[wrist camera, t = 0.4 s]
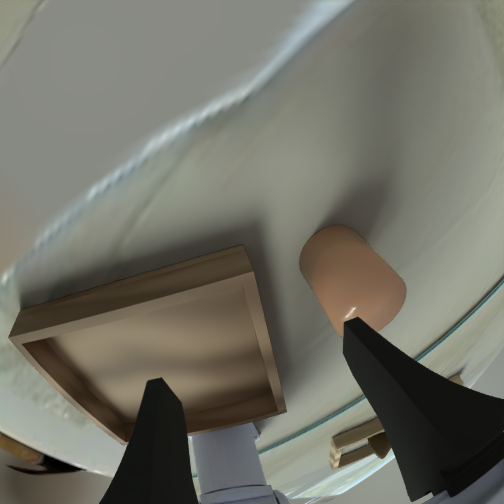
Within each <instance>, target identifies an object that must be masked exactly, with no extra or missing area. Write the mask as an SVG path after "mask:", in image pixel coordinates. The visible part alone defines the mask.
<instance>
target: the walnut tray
mask: <svg viewBox="0 0 504 504" xmlns="http://www.w3.org/2000/svg"><path fill="white" fill-rule="evenodd" d="M8 338H9V339H10V341H11V342H12V343H13V344H14V345H15V347H16V348H17V349H18V350H19V351H20V352H21V354H22V355H23V356H24V357H25V358H26V359H27V360H28V361H29V362H30V364H31V365H32V366H33V367H34V368H35V369H36V370H37V371H38V372H39V373H40V374H41V375H42V376H43V377H44V378H45V379H46V380H47V381H48V382H49V383H50V384H51V385H52V386H53V387H54V388H55V389H56V390H57V391H58V392H59V393H60V394H61V395H62V396H63V397H64V398H65V399H66V400H67V401H68V402H70V403H71V404H72V405H73V406H74V407H75V408H76V409H77V410H79V411H80V412H81V413H82V414H83V415H84V416H86V417H87V418H88V419H89V420H90V421H92V422H93V423H94V424H95V425H96V426H98V427H99V428H100V429H102V430H103V431H104V432H105V433H107V434H108V435H109V436H111V437H112V438H113V439H115V440H116V441H117V442H119V443H120V444H121V445H128V442H129V439H130V436H131V433H132V430H133V427H134V424H135V421H136V418H137V414H138V411H139V408H140V404H141V401H142V397H143V393H144V390H145V386H146V382H147V381H148V380H151V379H156V378H160V377H162V378H163V379H164V381H165V382H166V383H167V384H168V386H169V387H170V388H171V390H172V391H173V392H174V393H175V395H176V396H177V397H178V398H179V400H180V401H181V402H182V406H183V411H184V415H185V420H186V426H187V436H194V435H199V434H204V433H209V432H214V431H218V430H223V429H227V428H231V427H235V426H239V425H243V424H247V423H251V422H255V421H258V420H262V419H265V418H269V417H272V416H276V415H279V414H282V413H285V412H287V410H286V405H285V401H284V397H283V393H282V389H281V384H280V380H279V376H278V372H277V368H276V363H275V359H274V355H273V351H272V347H271V342H270V338H269V334H268V330H267V326H266V321H265V317H264V313H263V309H262V304H261V300H260V296H259V292H258V287H257V283H256V279H255V275H254V271H253V268H252V266H251V263H250V261H249V258H248V256H247V253H246V251H245V248H244V246H243V245H239V246H236V247H232V248H229V249H225V250H222V251H218V252H215V253H212V254H208V255H205V256H201V257H198V258H194V259H191V260H187V261H184V262H180V263H177V264H174V265H170V266H167V267H163V268H160V269H156V270H153V271H150V272H146V273H143V274H139V275H136V276H133V277H129V278H126V279H123V280H119V281H116V282H112V283H109V284H106V285H102V286H99V287H96V288H92V289H89V290H86V291H82V292H79V293H76V294H72V295H69V296H66V297H62V298H59V299H56V300H52V301H49V302H46V303H43V304H39V305H36V306H33V307H30V308H26V309H23V310H20V312H19V314H18V316H17V318H16V321H15V323H14V325H13V328H12V330H11V332H10V335H9V337H8Z"/></svg>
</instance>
